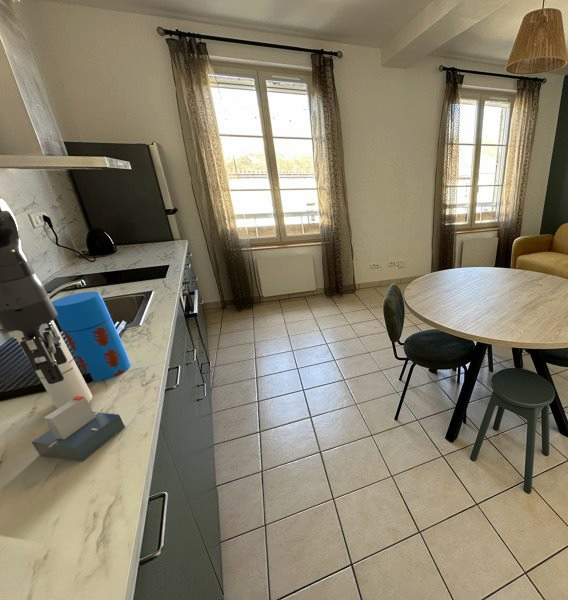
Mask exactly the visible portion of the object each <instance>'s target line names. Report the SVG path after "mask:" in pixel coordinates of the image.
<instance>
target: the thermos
mask: <svg viewBox="0 0 568 600" xmlns="http://www.w3.org/2000/svg"><path fill="white" fill-rule="evenodd" d="M51 302H52V304H53V306H54V308H55V310H56V312H57V314H58V315H57V317H56V318H55V320H56V322H57V323H58V326H59V327H60V330H61V331H62V333H63V335H64V337H65V338H66V341H67V342H68V344H69V347H70V348H71V350H72V352H73V354H74V356H75V358H76V360H77V362H78V364H79V366H80V368H81V370H82V371H83V373H84V372H86V373H90V374H91V376H92V379H93V380H94V381H93V382H101V381H100V380H103V381H106V380H110V379H112V378H115V377H117V376H119V375H121V374H123V373H125V372H126V371H127V370H129V368H130V367H131V362H130V358H129V356H128V354H127V351H126V348H125V346H124V344H123V342H122V340H121V337H120V335H119V333H118V331H117V329H116V326H115V324H114V321H113V319H112V317H111V314H110V312H109V310H108V307H107V305H106V303H105V301H104V299H103V297H102V295H101V294H100V292H98V291H83V292H78V293H73V294H69V295H65V296H62V297H59V298H57V299H54V300H52V301H51ZM105 379H106V380H105Z"/></svg>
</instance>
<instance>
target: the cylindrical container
mask: <svg viewBox="0 0 568 600" xmlns="http://www.w3.org/2000/svg"><path fill="white" fill-rule="evenodd" d="M51 322H52V324H53V326H54V328H55V330H56V332H57V334H58V335H59V336H60V340H59V342H61V346H58V347H61V349H62V351H63V353H64V354H65V356H66V358H67V362H66V363H63V364H60V365H58V367H59V369H60V371H61V373H62V374H63V376H64V379H63V381H60V382H57V383H54V384H49V383H48V382H47V380H46V379H45V377H44V375H43V373H42V372H41V370H37V371H35V370H34V372H35V373H36V375H37V377H38V378H39V380H40V383H42V386H43V387H44V389H45V391H46V392H47V394H48V395H49V397H50V399H51V401H52V403H53V404H54V406H55V408H56V410H57V409H58V408H60V407H62V406H63V405H65V404H66V403H68V402H70V401H71V400H73V398H75V397H76V396H82V397H86V399H87V401H88V403H90V402H91V400H92V399H93V396H94V395H93V394H92V391H91V390H90V388H89V386H88V384H87V382H86V380H85V378H84V377H83V375H82V373H81V371H80V369H79V367H78V365H77V363H76V361H75V359H74V358H73V355H72V353H71V351H70V350H69V349H70V348H68V346H67V344H66V341H65V340H64V338H63V336H62V334H61V332H60V330H59V327H58V326H57V324H56V323H55V320H52V321H51ZM11 333H12V334H13V336H14V337H15V339H16V341H17V342H18V344H19V345H20V342H22V339H21V337H24V335H23V332H22V331H11ZM20 348H21V349H22V351H23V353H24V354H25V352H24V350H23V348H22V347H21V346H20ZM35 351H36V350H35ZM26 358H27V360H28V361H29V359H28V357H27V356H26ZM40 361H41V362H44V361H46V359H45V357H40Z"/></svg>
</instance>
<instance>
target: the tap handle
mask: <svg viewBox="0 0 568 600" xmlns="http://www.w3.org/2000/svg"><path fill="white" fill-rule="evenodd" d="M94 412H95V411H94V409H92V407H91V405H90V402H88V401H87V399H86V397H82V396H76V397H75V398H73V400H71V401H70V402H68V403H66V404H65V405H63V406H62V407H60V408H58V409H57V408H56V409H55V410H54V411H52V412H50V413H49V414H47V415H45V416H44V417H43V420H44V421H45V423H46V425H47V427H48V428H49V430H50V429H51V431H52V433H53V434H54V436H55V438H56V439H62V440H64V439H66V438H67V437H69V436H70V435H71V434H73V433H74V432H76V431H77V430H78V429H80V428H81V427H83V426H84V425H85V424H87V423H88V422H90V421H91V420H92V419H94V418H95V417H96V416H95V414H94Z"/></svg>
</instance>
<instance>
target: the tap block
mask: <svg viewBox="0 0 568 600" xmlns="http://www.w3.org/2000/svg"><path fill="white" fill-rule="evenodd" d="M102 411H103V410H102V409H100V410H98V411H93V412H94V414H95V416H96V417H95V418H94V419H92V420H91V421H90V422H88V423H87V424H85V425H84V426H83V427H81V428H80V429H78V430H77V431H76V432H74V433H73V434H71V435H70V436H69V437H67V438H66V439H64V440H62V439H56V438H55V436H54V434H53V433H52V431H51V429H50V428H49V429H48V430H47V431H45V432H44V433H42V434H41V435H39V436H38V437H36V438H34V439H33V440H31V442H30V443H31V444H32V446H33V448H34V449H35V450H36V452H37V454H38V455H39V456H43V457H51V458H58V459H64V460H72V461H77V462H84V461H85V460H86V459H88V458H89V457H90V456H91V455H93V454H94V453H95V452H96V451H98V450H99V449H100V448H101V447H103V446H104V445H105V444H107V443H108V442H109V441H110V440H111V439H112V438H114V437H115V436H116V435H117V434H118V433H120V432H121V431H122V430H124V429H125V428H126V426H125V423H124V422H123V420H122V418H121V415H120V414H116V413H109V412H108V413H107V412H102Z"/></svg>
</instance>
